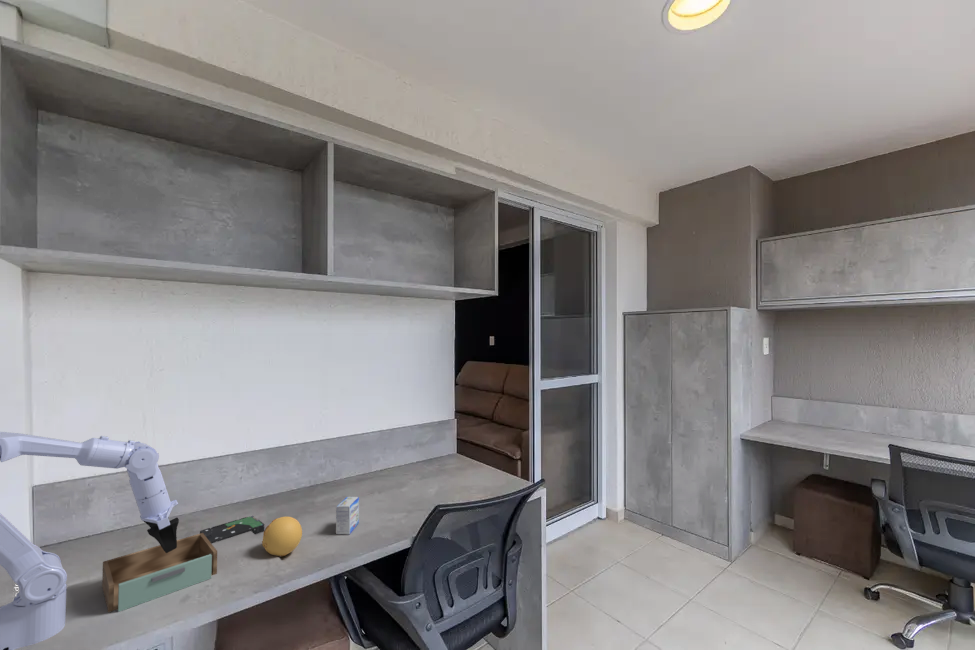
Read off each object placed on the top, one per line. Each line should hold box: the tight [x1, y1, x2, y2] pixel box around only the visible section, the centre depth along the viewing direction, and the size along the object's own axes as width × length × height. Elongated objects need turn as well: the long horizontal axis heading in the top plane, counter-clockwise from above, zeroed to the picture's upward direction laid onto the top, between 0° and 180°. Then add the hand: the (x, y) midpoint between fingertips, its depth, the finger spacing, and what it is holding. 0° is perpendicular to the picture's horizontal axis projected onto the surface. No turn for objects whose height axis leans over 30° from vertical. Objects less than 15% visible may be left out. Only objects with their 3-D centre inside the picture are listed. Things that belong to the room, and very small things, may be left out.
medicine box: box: [335, 496, 360, 535], centre depth 131 cm, size 8×4×9 cm, turn 177°
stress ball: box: [261, 516, 303, 558], centre depth 115 cm, size 10×10×10 cm
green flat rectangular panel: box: [117, 554, 212, 613], centre depth 95 cm, size 17×2×6 cm, turn 137°
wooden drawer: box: [101, 532, 218, 613], centre depth 101 cm, size 20×14×7 cm
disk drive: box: [199, 515, 266, 545], centre depth 126 cm, size 10×3×15 cm
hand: (167, 544), depth 99 cm, fingers open, 7 cm apart
